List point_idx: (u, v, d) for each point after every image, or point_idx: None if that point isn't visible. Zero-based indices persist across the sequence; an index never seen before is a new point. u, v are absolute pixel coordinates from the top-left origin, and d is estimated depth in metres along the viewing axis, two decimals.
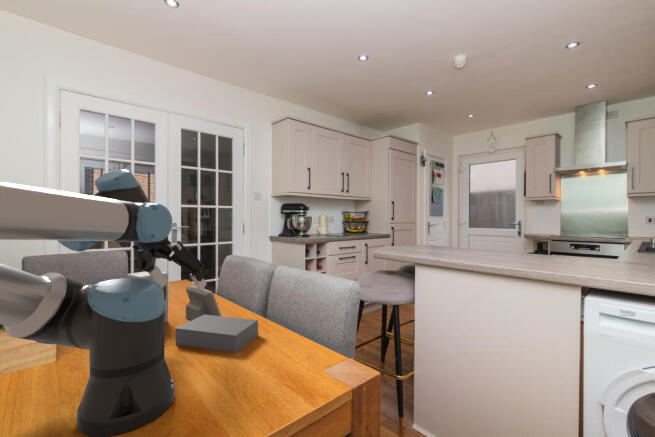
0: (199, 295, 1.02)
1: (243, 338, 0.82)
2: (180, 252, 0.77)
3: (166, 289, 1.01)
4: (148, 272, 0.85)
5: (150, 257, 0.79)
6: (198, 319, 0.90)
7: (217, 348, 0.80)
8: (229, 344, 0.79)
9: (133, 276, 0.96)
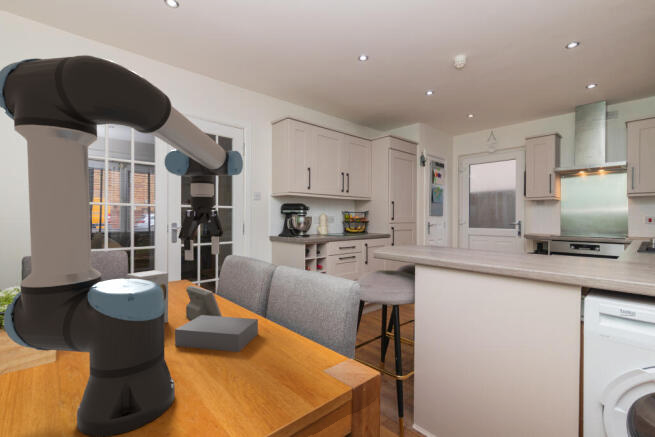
0: (199, 295, 1.02)
1: (245, 337, 0.83)
2: None
3: (166, 289, 1.01)
4: (187, 242, 0.97)
5: (202, 220, 1.02)
6: (196, 320, 0.90)
7: (219, 348, 0.80)
8: (232, 343, 0.79)
9: (133, 276, 0.96)
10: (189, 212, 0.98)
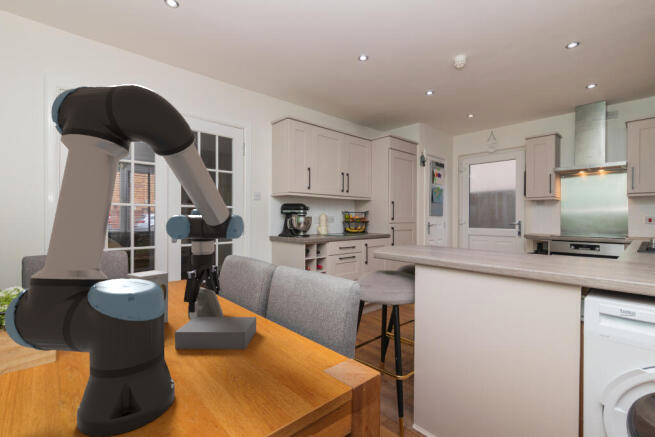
0: (201, 295, 1.03)
1: (248, 334, 0.84)
2: None
3: (166, 289, 1.01)
4: (192, 305, 1.00)
5: (203, 278, 1.03)
6: (193, 321, 0.88)
7: (224, 347, 0.81)
8: (238, 341, 0.81)
9: (133, 276, 0.96)
10: (190, 275, 0.99)
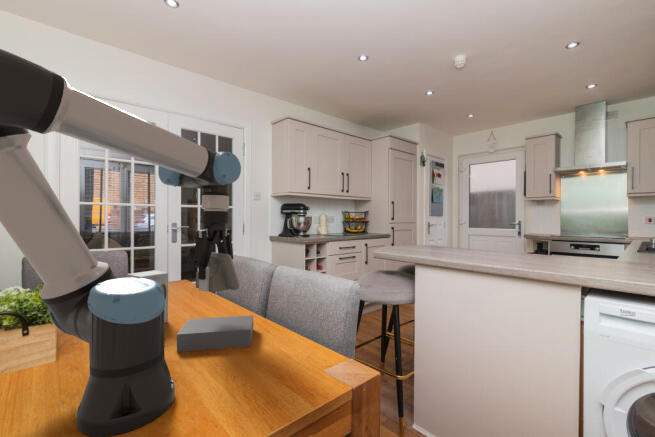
0: (213, 259, 0.85)
1: (251, 332, 0.86)
2: None
3: (166, 289, 1.01)
4: (203, 270, 0.82)
5: (216, 240, 0.86)
6: (190, 323, 0.87)
7: (229, 345, 0.82)
8: (243, 339, 0.82)
9: (133, 276, 0.96)
10: (201, 233, 0.81)
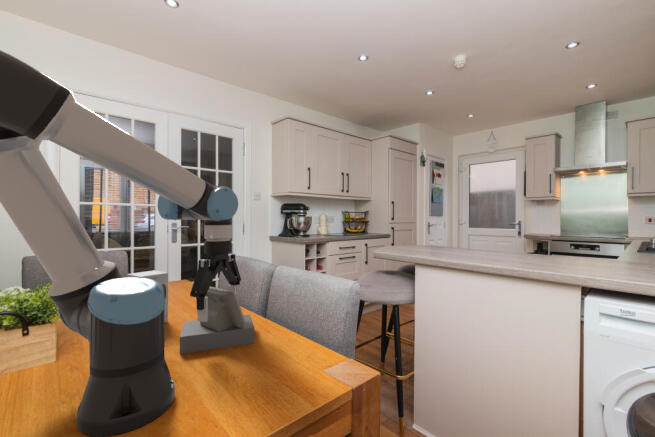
0: (218, 297, 0.83)
1: None
2: None
3: (166, 289, 1.01)
4: (201, 300, 0.78)
5: (218, 270, 0.84)
6: (188, 326, 0.85)
7: (233, 344, 0.82)
8: (247, 337, 0.84)
9: (133, 276, 0.96)
10: (203, 262, 0.80)
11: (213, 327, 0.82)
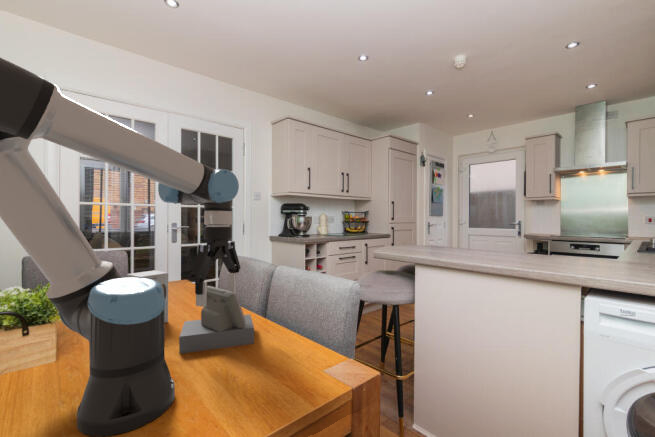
0: (219, 297, 0.83)
1: None
2: None
3: (166, 289, 1.01)
4: (200, 285, 0.78)
5: (217, 256, 0.84)
6: (188, 325, 0.86)
7: (233, 344, 0.82)
8: (247, 337, 0.84)
9: (133, 276, 0.96)
10: (203, 247, 0.80)
11: (214, 327, 0.82)
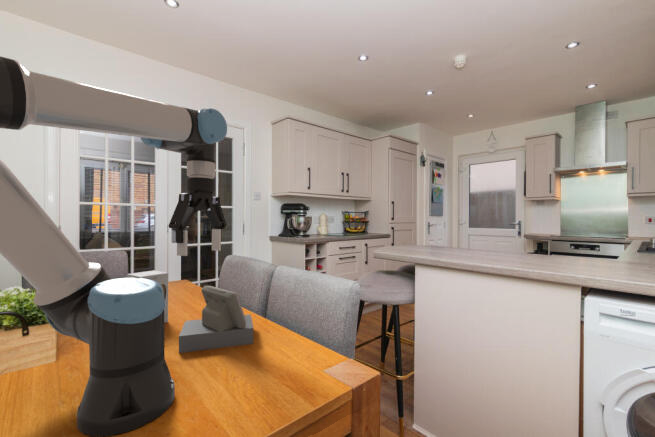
0: (219, 297, 0.83)
1: None
2: None
3: (166, 289, 1.01)
4: (180, 233, 0.77)
5: (199, 206, 0.82)
6: (188, 325, 0.86)
7: (232, 345, 0.82)
8: (246, 337, 0.84)
9: (133, 276, 0.96)
10: (183, 195, 0.78)
11: (214, 327, 0.82)
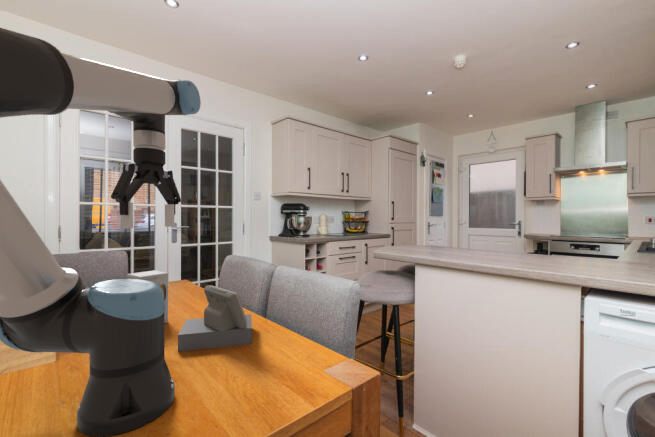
0: (221, 297, 0.83)
1: None
2: None
3: (166, 289, 1.01)
4: (124, 204, 0.74)
5: (147, 178, 0.79)
6: (188, 324, 0.87)
7: (231, 344, 0.83)
8: (244, 337, 0.84)
9: (133, 276, 0.96)
10: (128, 166, 0.75)
11: (215, 327, 0.82)
